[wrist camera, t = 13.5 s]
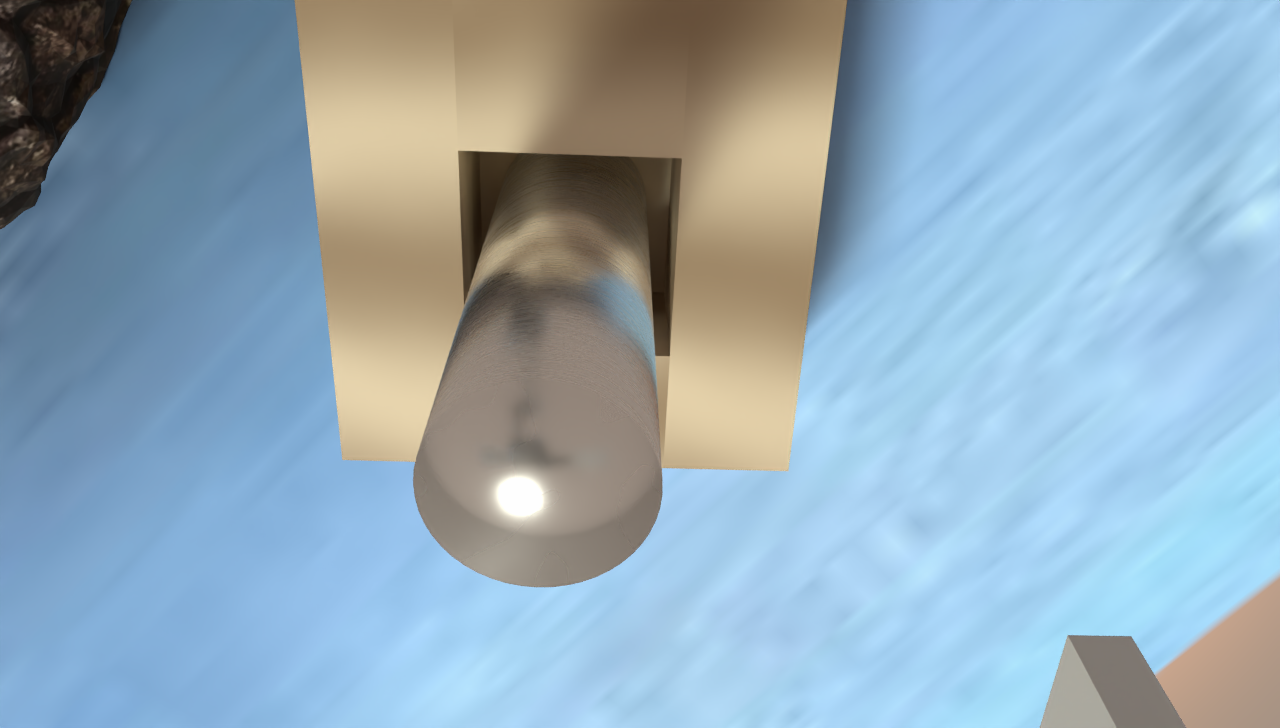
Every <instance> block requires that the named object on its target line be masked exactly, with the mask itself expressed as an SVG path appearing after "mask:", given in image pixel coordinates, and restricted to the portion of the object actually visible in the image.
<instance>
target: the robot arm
mask: <svg viewBox="0 0 1280 728" xmlns="http://www.w3.org/2000/svg"><path fill="white" fill-rule="evenodd" d="M1040 728H1186V727H1185V725H1184V723H1183V722H1182V720H1181V718H1180V717H1179V715H1178V713H1177V712H1176V710H1175V708H1174V707H1173V705H1172V703H1171V702H1170V700H1169V698H1168V697H1167V695H1166V694H1165V692H1164V690H1163V688H1162V687H1161V685H1160V683H1159V682H1158V680H1157V678H1156V677H1155V675H1154V673H1153V672H1152V670H1151V668H1150V667H1149V665H1148V663H1147V662H1146V660H1145V658H1144V657H1143V655H1142V653H1141V652H1140V650H1139V649H1138V647H1137V645H1136V644H1135V642H1134V640H1133V639H1132V637H1131V636H1079V635H1068V636H1067V639H1066V643H1065V646H1064V649H1063V653H1062V656H1061V659H1060V663H1059V666H1058V669H1057V672H1056V676H1055V679H1054V682H1053V686H1052V689H1051V692H1050V696H1049V699H1048V702H1047V705H1046V709H1045V712H1044V715H1043V719H1042V722H1041V725H1040Z"/></svg>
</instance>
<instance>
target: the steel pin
mask: <svg viewBox="0 0 1280 728" xmlns="http://www.w3.org/2000/svg"><path fill="white" fill-rule="evenodd" d="M413 486H414V494H415V499H416V503H417V506H418V510H419V512H420V515H421V517H422V519H423V521H424V523H425V525H426V527H427V528H428V530H429V531H430V533H431V535H432V536H433V537H434V538H435V539H436V541H437V542H438V543H439V544H440V545H441V547H443V548H444V549H445V550H446V551H447V552H448V553H449V554H450V555H451V556H452V557H454V558H455V559H456V560H458V561H459V562H461V563H462V564H463V565H465V566H467V567H469V568H470V569H472V570H474V571H476V572H477V573H480V574H482V575H485V576H487V577H489V578H492V579H495V580H498V581H501V582H505V583H509V584H514V585H520V586H529V587H556V586H564V585H570V584H575V583H579V582H583V581H586V580H589V579H592V578H594V577H597V576H599V575H601V574H603V573H605V572H607V571H610V570H611V569H613V568H614V567H616V566H617V565H619V564H621V563H622V562H623V561H624V560H626V559H627V558H628V557H629V556H630V555H632V554H633V553H634V552H635V551H636V550H637V548H638V547H639V546H640V545H641V544H642V543H643V542H644V540H645V539H646V537H647V536H648V534H649V533H650V531H651V529H652V527H653V525H654V523H655V521H656V519H657V516H658V513H659V510H660V505H661V499H662V466H661V448H660V431H659V413H658V396H657V379H656V361H655V344H654V326H653V309H652V291H651V274H650V257H649V239H648V222H647V204H646V193H645V187H644V183H643V180H642V177H641V175H640V173H639V170H638V169H637V167H636V165H635V164H634V162H633V161H632V160H631V158H630V157H627V156H598V155H570V154H541V153H519V154H518V155H517V156H516V158H515V159H514V160H513V162H512V163H511V165H510V167H509V169H508V170H507V173H506V175H505V178H504V181H503V184H502V187H501V191H500V194H499V197H498V200H497V203H496V206H495V210H494V213H493V216H492V219H491V222H490V225H489V229H488V232H487V235H486V238H485V241H484V244H483V248H482V251H481V254H480V257H479V260H478V263H477V267H476V270H475V273H474V276H473V279H472V282H471V286H470V289H469V292H468V295H467V298H466V301H465V304H464V308H463V311H462V314H461V317H460V320H459V323H458V327H457V330H456V333H455V336H454V339H453V342H452V346H451V349H450V352H449V355H448V358H447V361H446V365H445V368H444V371H443V374H442V377H441V380H440V384H439V387H438V390H437V393H436V396H435V399H434V403H433V406H432V409H431V412H430V415H429V418H428V422H427V425H426V428H425V431H424V434H423V437H422V441H421V444H420V447H419V450H418V453H417V456H416V461H415V466H414V477H413Z"/></svg>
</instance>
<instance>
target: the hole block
mask: <svg viewBox="0 0 1280 728" xmlns="http://www.w3.org/2000/svg"><path fill="white" fill-rule="evenodd" d="M846 6H847V0H295V7H296V17H297V27H298V36H299V46H300V56H301V65H302V75H303V84H304V94H305V104H306V113H307V123H308V133H309V142H310V152H311V161H312V171H313V181H314V190H315V200H316V210H317V219H318V229H319V239H320V248H321V258H322V267H323V277H324V287H325V296H326V306H327V316H328V325H329V335H330V344H331V354H332V364H333V373H334V383H335V393H336V402H337V412H338V421H339V431H340V441H341V450H342V460H368V461H408V462H415V461H416V456H417V453H418V450H419V447H420V444H421V441H422V437H423V434H424V431H425V428H426V425H427V422H428V418H429V415H430V412H431V409H432V406H433V403H434V399H435V396H436V393H437V390H438V387H439V384H440V380H441V377H442V374H443V371H444V368H445V365H446V361H447V358H448V355H449V352H450V349H451V346H452V342H453V339H454V336H455V333H456V330H457V327H458V323H459V320H460V317H461V314H462V311H463V308H464V304H465V301H466V298H467V295H468V292H469V289H470V286H471V282H472V279H473V276H474V273H475V270H476V267H477V263H478V260H479V257H480V254H481V251H482V248H483V244H484V241H485V238H486V235H487V232H488V229H489V225H490V222H491V219H492V216H493V213H494V210H495V206H496V203H497V200H498V197H499V194H500V191H501V187H502V184H503V181H504V178H505V175H506V173H507V170H508V169H509V167H510V165H511V163H512V162H513V160H514V159H515V158H516V156H517V155H518V154H519V153H541V154H570V155H598V156H627V157H630V158H631V160H632V161H633V162H634V164H635V165H636V167H637V169H638V170H639V173H640V175H641V177H642V180H643V183H644V187H645V193H646V204H647V222H648V239H649V257H650V274H651V291H652V309H653V326H654V344H655V361H656V379H657V396H658V413H659V431H660V448H661V466H662V468H686V469H725V470H765V471H788V468H789V460H790V452H791V444H792V436H793V428H794V420H795V412H796V404H797V396H798V388H799V380H800V372H801V364H802V356H803V348H804V340H805V333H806V325H807V317H808V309H809V301H810V293H811V285H812V277H813V269H814V261H815V253H816V245H817V237H818V229H819V221H820V213H821V205H822V197H823V189H824V181H825V173H826V165H827V157H828V149H829V141H830V133H831V125H832V117H833V109H834V101H835V93H836V85H837V77H838V70H839V62H840V54H841V46H842V38H843V30H844V22H845V14H846Z"/></svg>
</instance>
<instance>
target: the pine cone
mask: <svg viewBox="0 0 1280 728" xmlns="http://www.w3.org/2000/svg"><path fill="white" fill-rule="evenodd" d="M131 1H132V0H0V229H2V228H4V227H5V226H6V225H8V224H9V223H10V222H12V221H13V220H14V219H15V218H16V217H18V216H19V215H20V214H21V213H22V212H23V211H25V210H27V209H29V208H31V207H33V206H35V204H36V202H37V200H38V197H39V195H40V193H41V183H42V182H43V181H44V180H45V178H46V174H47V169H48V166H49V164H50V161H51V160H52V158H53V156H54V155H55V153H56V152H57V151H58V149H59V148H60V146H61V144H62V142H63V140H64V139H65V137H66V135H67V133H68V132H69V130H70V129H71V128H72V126H73V125H74V124H75V123H76V121H77V120H78V119H79V117H80V115H81V113H82V111H83V109H84V107H85V104H86V102H87V101H88V100H89V99H90V98H91V96H92V95H93V94H94V93H95V92H96V91H97V90H98V89H99V88H100V86H101V83H102V80H103V78H104V75H105V72H106V69H107V67H108V65H109V63H110V60H111V58H112V56H113V54H114V51H115V47H116V42H117V37H118V33H119V29H120V27H121V24H122V22H123V20H124V17H125V15H126V13H127V10H128V8H129V6H130V4H131Z"/></svg>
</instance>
